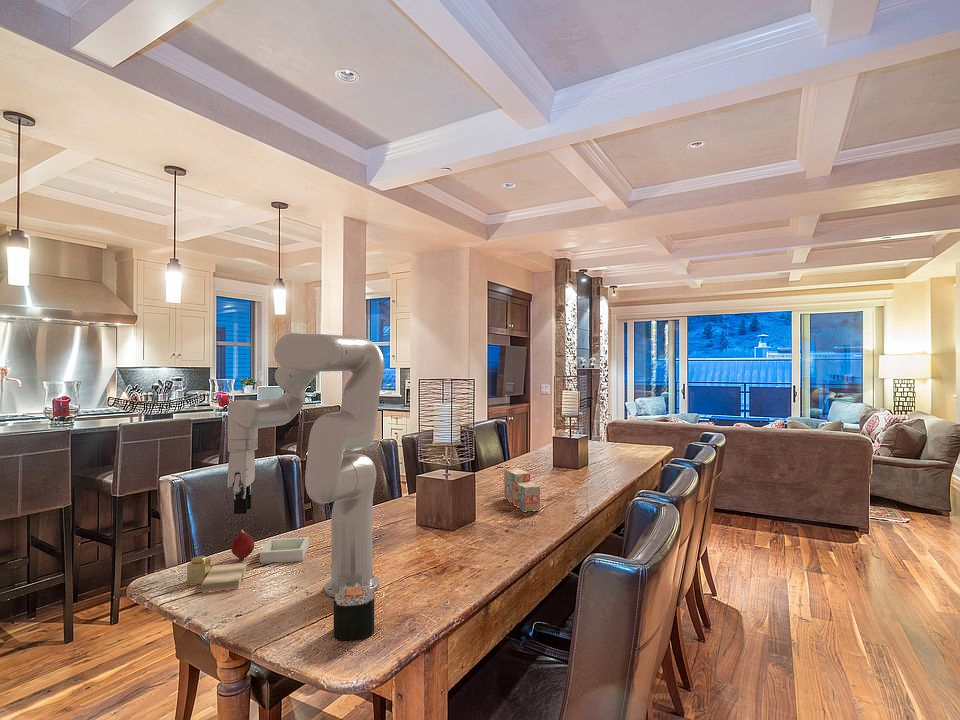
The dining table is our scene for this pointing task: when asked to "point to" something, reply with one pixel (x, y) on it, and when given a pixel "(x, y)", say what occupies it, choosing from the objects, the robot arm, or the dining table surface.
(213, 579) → the maple board
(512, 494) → the stack of blocks
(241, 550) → the onion
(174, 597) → the dining table surface
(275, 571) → the dining table surface
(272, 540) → the ceramic dish
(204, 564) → the bench dog
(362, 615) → the sushi
